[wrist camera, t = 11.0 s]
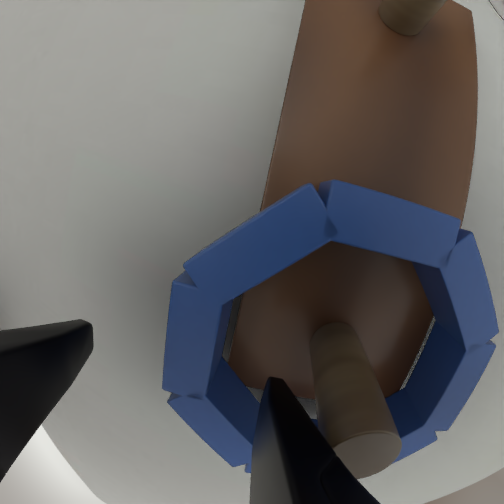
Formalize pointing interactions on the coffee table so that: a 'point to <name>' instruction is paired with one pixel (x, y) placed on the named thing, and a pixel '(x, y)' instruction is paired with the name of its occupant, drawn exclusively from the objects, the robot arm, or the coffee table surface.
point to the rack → (372, 177)
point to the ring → (292, 250)
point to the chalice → (498, 6)
